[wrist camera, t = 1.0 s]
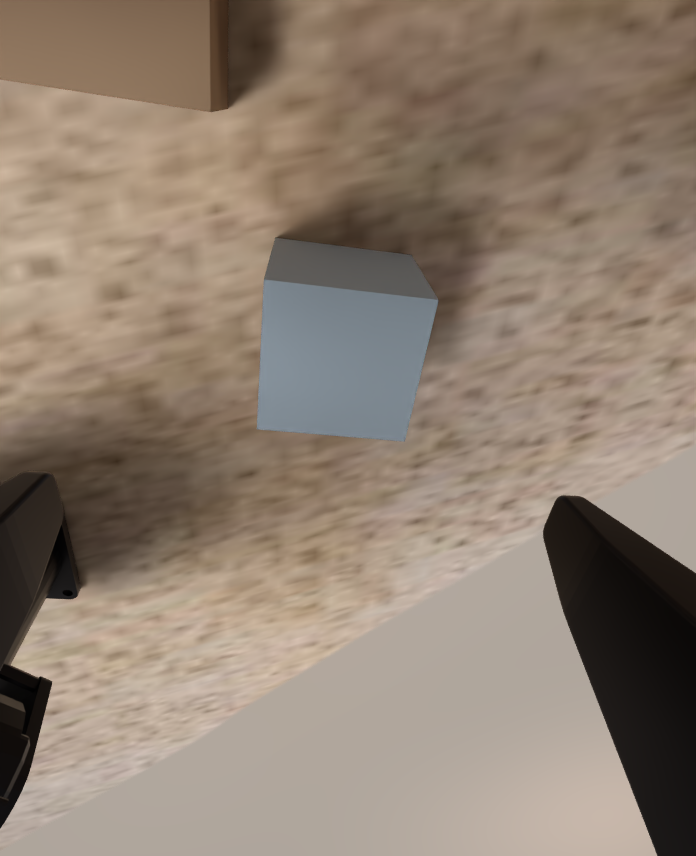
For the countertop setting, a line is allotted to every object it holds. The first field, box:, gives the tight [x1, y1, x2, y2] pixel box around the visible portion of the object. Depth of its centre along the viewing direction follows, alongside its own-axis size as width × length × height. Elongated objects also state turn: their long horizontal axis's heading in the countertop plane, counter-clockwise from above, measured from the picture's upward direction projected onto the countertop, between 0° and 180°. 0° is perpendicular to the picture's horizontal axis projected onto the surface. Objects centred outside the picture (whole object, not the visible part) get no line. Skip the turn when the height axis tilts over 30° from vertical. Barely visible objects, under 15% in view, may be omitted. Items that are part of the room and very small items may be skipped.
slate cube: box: [257, 238, 438, 441], centre depth 18 cm, size 5×5×5 cm
